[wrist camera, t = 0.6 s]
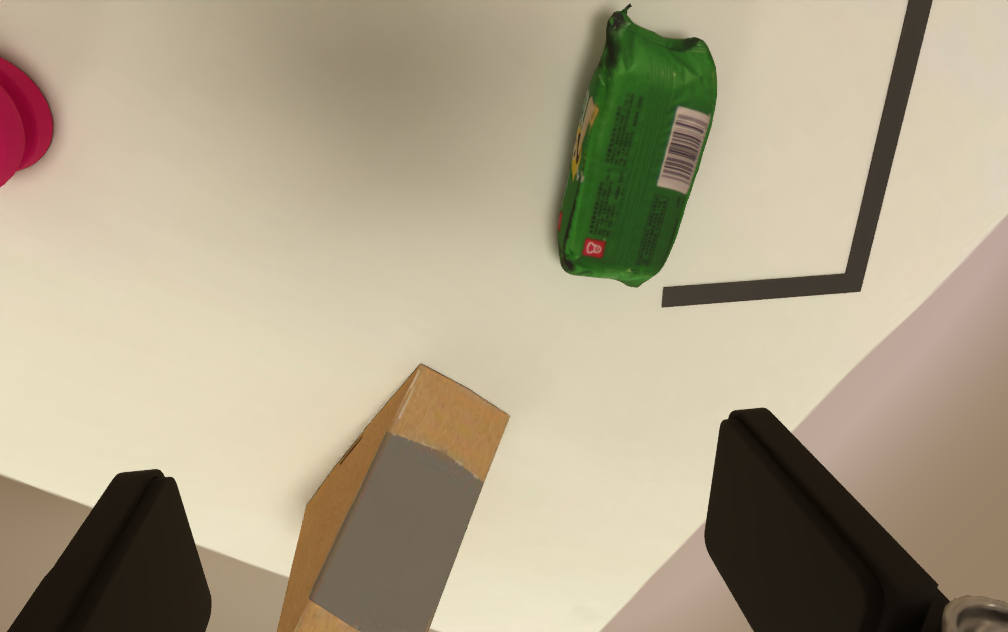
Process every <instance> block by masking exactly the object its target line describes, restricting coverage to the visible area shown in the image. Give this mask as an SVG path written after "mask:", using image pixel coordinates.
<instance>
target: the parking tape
mask: <svg viewBox="0 0 1008 632" xmlns="http://www.w3.org/2000/svg"><path fill="white" fill-rule="evenodd" d="M932 1H933V0H909V3H908V8H907V12H906V16H905V20H904V25H903V29H902V33H901V38H900V42H899V46H898V50H897V55H896V59H895V63H894V68H893V72H892V76H891V81H890V85H889V89H888V93H887V98H886V102H885V106H884V111H883V115H882V119H881V123H880V128H879V132H878V136H877V141H876V145H875V149H874V153H873V158H872V162H871V166H870V171H869V175H868V179H867V183H866V188H865V192H864V196H863V201H862V205H861V209H860V213H859V218H858V222H857V226H856V231H855V235H854V239H853V243H852V248H851V252H850V256H849V261H848V265H847V269H846V273H845V274H836V275H823V276H810V277H796V278H783V279H770V280H757V281H744V282H731V283H717V284H704V285H691V286H678V287H665V288H664V289H663V300H662V307H674V306H686V305H699V304H711V303H724V302H737V301H749V300H762V299H774V298H787V297H799V296H812V295H824V294H837V293H849V292H861V288H862V284H863V279H864V275H865V271H866V267H867V263H868V259H869V255H870V251H871V247H872V243H873V239H874V235H875V231H876V227H877V223H878V219H879V215H880V211H881V207H882V203H883V199H884V195H885V191H886V187H887V183H888V179H889V175H890V171H891V166H892V162H893V158H894V154H895V150H896V146H897V142H898V138H899V134H900V130H901V126H902V122H903V118H904V114H905V110H906V106H907V102H908V98H909V94H910V90H911V86H912V82H913V78H914V74H915V70H916V66H917V62H918V58H919V53H920V49H921V45H922V41H923V37H924V33H925V29H926V25H927V21H928V17H929V13H930V9H931V5H932Z"/></svg>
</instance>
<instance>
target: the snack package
mask: <svg viewBox="0 0 1008 632" xmlns="http://www.w3.org/2000/svg"><path fill="white" fill-rule="evenodd" d="M630 7H632V6H631V3H630V4H629V5H628V6H627V7H626V8H625V9H623V10H622V11H616V12H614V13H613V15H612V16H611V17H610V18H609V20H608V23H607V30H606V43H605V48H604V51H603V54H602V57H601V59H600V62H599V64H598V66H597V68H596V70H595V72H594V74H593V76H592V79H591V82H590V84H589V87H588V90H587V93H586V96H585V99H584V103H583V107H582V112H581V117H580V122H579V126H578V131H577V136H576V141H575V146H574V151H573V156H572V161H571V165H570V170H569V175H568V180H567V184H566V189H565V193H564V197H563V202H562V206H561V211H560V215H559V222H558V245H559V256H560V263H561V266H562V268H563V269H564V271H566V272H567V273H569V274H572V275H578V276H587V277H597V278H609V279H614V280H618V281H620V282H622V283H624V284H625V285H627V286H630V287H639V286H640V285H641V284H642V283H644V282H646V281H647V280H649V279H650V278H652V277H653V276H655V275H656V274H657V273H658V272H659V271H660V270H661V269H662V267H663V266H664V264H665V262H666V260H667V258H668V256H669V254H670V251H671V249H672V247H673V244H674V242H675V239H676V236H677V233H678V230H679V227H680V224H681V220H682V217H683V214H684V210H685V207H686V204H687V201H688V198H689V195H690V192H691V189H692V186H693V183H694V180H695V177H696V174H697V172H698V169H699V166H700V162H701V159H702V155H703V151H704V148H705V145H706V142H707V139H708V136H709V132H710V129H711V126H712V121H713V115H714V111H715V105H716V99H717V76H716V66H715V64H714V61H713V58H712V55H711V53H710V50H709V48H708V46H707V45H706V43H705V42H704V41H703V40H701V39H699V38H696V37H692V38H687V39H670V38H663V37H661V36H659V35H657V34H656V33H654V32H652V31H649V30H647V29H645V28H642V27H640V26H638V25H636V24H634V23H633V22H632V21H631V20H630V18H629V17H628V16H627V10H628V9H629V8H630Z"/></svg>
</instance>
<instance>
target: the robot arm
mask: <svg viewBox="0 0 1008 632" xmlns="http://www.w3.org/2000/svg"><path fill="white" fill-rule="evenodd" d="M704 535H705V536H704V537H705V544H706V547H707V550H708V553H709V555H710V557H711V559H712V560H713V562H714V564H715V566H716V567H717V569H718V571H719V573H720V574H721V576H722V578H723V579H724V581H725V583H726V585H727V586H728V588H729V590H730V591H731V593H732V595H733V597H734V598H735V600H736V602H737V603H738V605H739V607H740V609H741V610H742V612H743V614H744V616H745V617H746V619H747V621H748V622H749V624H750V626H751V628H752V629H753V631H754V632H1008V603H1006V602H1004V601H1000V600H996V599H993V598H989V597H985V596H963V597H959V598H955V599H953V600H952V601H951V602H950V601H949V600H948V599H947V598H946V597H945V596H944V595H943V594H942V593H941V592H940V591H939V589H937V587H938V584H937V583H936V582H935V581H934V580H933V579H932V578H931V576H930V575H929V574H928V573H927V572H925V570H924V569H923V568H922V567H921V566H920V565H919V564H918V563H917V562H916V561H915V560H914V559H913V558H912V557H911V556H910V555H909V554H908V553H907V552H906V551H905V550H904V549H903V548H902V547H901V546H900V545H899V544H898V543H897V541H895V539H893V537H892V536H891V535H890V534H889V533H888V532H887V531H886V530H885V529H884V528H883V527H882V526H881V525H880V524H879V523H878V522H877V521H876V520H875V519H874V518H873V517H872V516H871V515H870V514H869V513H868V512H867V511H866V510H865V508H864V507H863V506H862V505H860V503H859V502H858V501H857V500H856V499H855V498H854V497H853V496H852V495H851V494H850V493H849V492H848V491H847V490H846V489H845V488H844V487H843V486H842V485H841V484H840V483H839V482H838V481H837V480H836V479H835V478H834V477H833V475H832V474H831V473H830V472H829V471H828V470H827V469H826V468H825V467H824V466H823V465H822V464H821V463H820V462H819V461H818V460H817V459H816V458H815V457H814V456H813V455H812V454H811V453H810V452H809V451H808V450H807V449H806V448H805V447H804V446H803V445H802V444H801V442H800V441H799V440H798V439H797V438H796V437H795V436H794V435H793V434H792V433H791V432H790V431H789V430H788V429H787V428H786V427H785V426H784V425H783V424H782V423H781V422H780V421H779V420H778V419H777V418H776V417H775V416H774V415H773V414H772V413H771V412H770V411H769V410H768V409H766V408H754V409H744V410H735V411H732V412H731V413H730V415H729V418H728V419H726V420H723V421H722V422H721V425H720V430H719V437H718V443H717V450H716V457H715V464H714V471H713V478H712V485H711V491H710V498H709V505H708V512H707V519H706V526H705V534H704ZM210 615H211V595H210V591H209V588H208V585H207V581H206V579H205V575H204V572H203V568H202V565H201V562H200V558H199V555H198V552H197V549H196V545H195V542H194V539H193V536H192V532H191V529H190V526H189V522H188V519H187V516H186V513H185V509H184V506H183V503H182V500H181V496H180V493H179V490H178V487H177V484H176V481H175V479H174V478H173V477H165V476H164V474H163V473H162V472H161V471H160V470H158V469H152V470H143V471H133V472H123V473H119V474H117V475H116V476H115V477H114V478H113V480H112V481H111V483H110V484H109V486H108V487H107V489H106V490H105V492H104V493H103V495H102V496H101V497H100V499H99V500H98V502H97V503H96V505H95V506H94V508H93V509H92V511H91V512H90V514H89V515H88V517H87V518H86V520H85V521H84V523H83V524H82V525H81V527H80V528H79V530H78V531H77V533H76V534H75V536H74V537H73V539H72V540H71V542H70V543H69V545H68V546H67V548H66V549H65V551H64V552H63V554H62V555H61V556H60V558H59V559H58V561H57V563H56V564H55V565H54V567H53V568H52V569H51V571H50V572H49V573H48V574H47V575H46V576H45V577H44V579H43V580H42V581H41V583H40V584H39V586H38V587H37V589H36V590H35V592H34V593H33V595H32V596H31V598H30V599H29V601H28V602H27V603H26V605H25V606H24V608H23V609H22V611H21V612H20V614H19V615H18V616H17V618H16V619H15V621H14V623H13V624H12V625H11V627H10V628H9V630H8V631H7V632H205V631H206V628H207V625H208V622H209V619H210Z"/></svg>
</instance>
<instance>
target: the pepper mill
mask: <svg viewBox="0 0 1008 632" xmlns="http://www.w3.org/2000/svg"><path fill="white" fill-rule="evenodd" d="M52 132H53V123H52V116H51V112H50V110H49V107H48V104H47V102H46V100H45V98H44V97H43V95H42V93H41V92H40V90H39V88H38V87H37V86H36V85H35V84H34V82H33V81H32V80H31V79H30V78H29V77H28V76H27V75H25V74H24V73H23V72H22V71H21V70H20V69H18V68H17V67H15V66H14V65H13V64H11V63H10V62H8V61H6V60H4V59H2V58H0V187H1V186H3V185H4V184H5V183H6V182H7V181H8V180H9V179H10V178H11V177H12V176H13V175H14V174H15V172H16V171H19V170H22V169H24V168H27V167H29V166H31V165H33V164H34V163H36V162H37V161H38V160H39V159H40V158H41V157H42V156H43V155H44V154H45V153H46V151H47V149H48V148H49V145H50V142H51V138H52Z"/></svg>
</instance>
